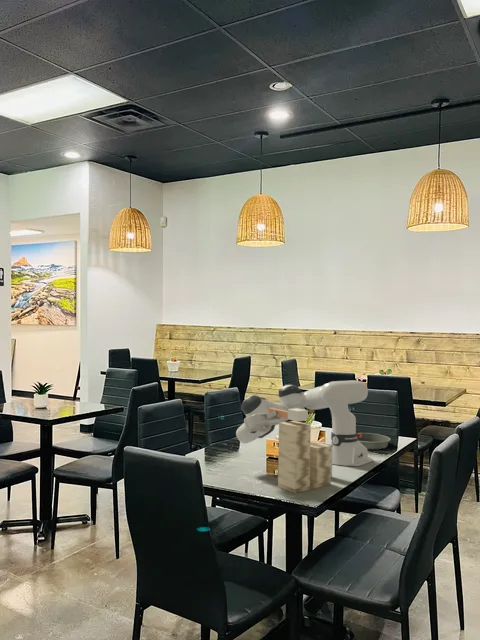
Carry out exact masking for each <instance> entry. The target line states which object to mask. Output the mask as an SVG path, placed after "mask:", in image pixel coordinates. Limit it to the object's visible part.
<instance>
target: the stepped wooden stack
mask: <svg viewBox="0 0 480 640" xmlns="http://www.w3.org/2000/svg"><path fill="white" fill-rule="evenodd" d="M311 426H312V424H310V423H307V422H306V423H301V422H297V421H288V422H281V423H279V424H278V469H277V470H278V471H277V472H278V474H277V487H278V488H280V489H283V490H286V491H289V492H290V493H294V494H298V493H301V492H306V491H309V490H314V489H317V488H322V487H325V486H330V485H331V478H332V477H331V446H330V445H326V444H322V443H318V442H317V441H311Z"/></svg>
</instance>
